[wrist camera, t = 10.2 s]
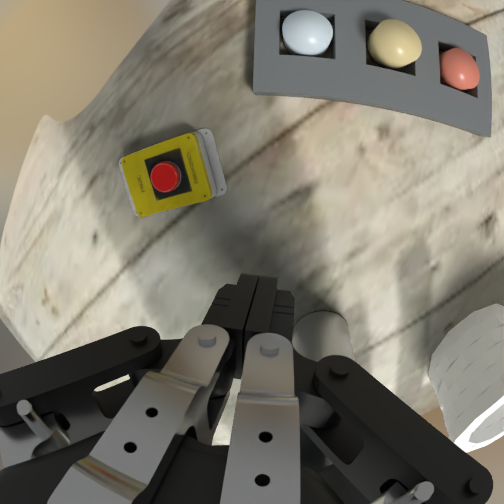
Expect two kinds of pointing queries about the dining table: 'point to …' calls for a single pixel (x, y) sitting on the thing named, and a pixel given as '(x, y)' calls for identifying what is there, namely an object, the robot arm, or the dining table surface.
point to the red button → (458, 69)
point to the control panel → (372, 77)
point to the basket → (472, 378)
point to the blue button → (306, 33)
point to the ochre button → (394, 44)
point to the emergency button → (173, 173)
